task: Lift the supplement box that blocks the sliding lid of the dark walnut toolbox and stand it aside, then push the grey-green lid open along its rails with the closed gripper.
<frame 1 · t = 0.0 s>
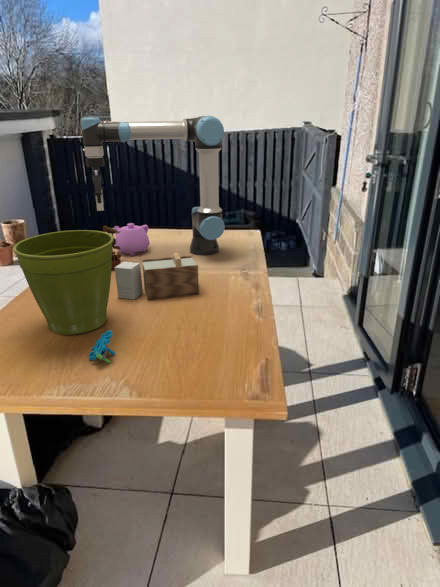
hand: (100, 207, 186), 28 cm above the table, tool pointing down, fingers open, 13 cm apart
lid: (169, 261, 165), point 12 cm above the table, slide at 0.0 cm
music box: (108, 267, 197), on the table
blue angular piece: (102, 357, 123), on the table
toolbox: (171, 291, 169), on the table
pink piggy bank: (132, 251, 222), on the table
plant pot: (77, 323, 144), on the table
supplement box: (130, 295, 166), on the table
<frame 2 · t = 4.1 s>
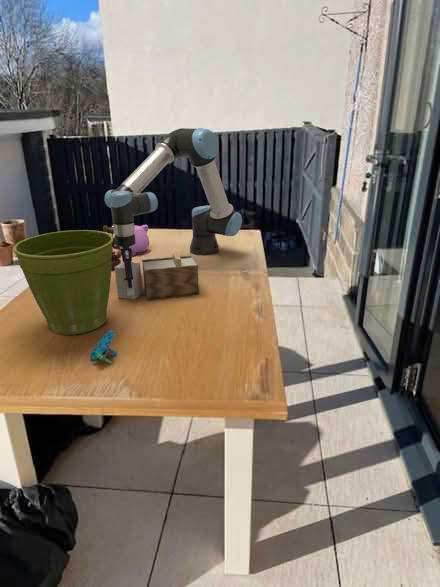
hand: (130, 290, 165), 2 cm above the table, tool pointing down, fingers closed on supplement box, 10 cm apart
supplement box: (130, 295, 166), on the table, touching gripper
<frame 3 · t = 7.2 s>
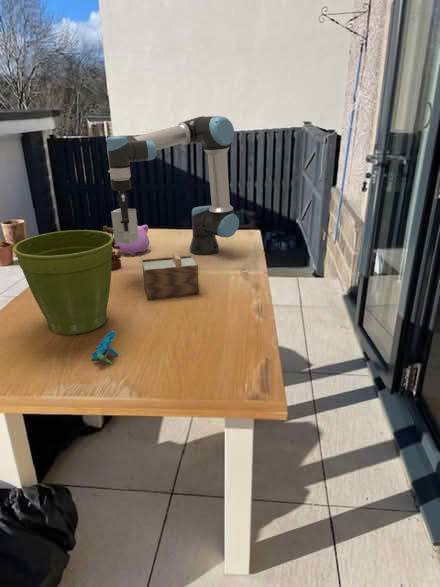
hand: (126, 235, 171), 20 cm above the table, tool pointing down, fingers closed on supplement box, 10 cm apart
supplement box: (126, 241, 172), point 18 cm above the table, touching gripper
when the fingers open (4 cm above the table, at t = 10.3 s): supplement box drops 1 cm, on the table.
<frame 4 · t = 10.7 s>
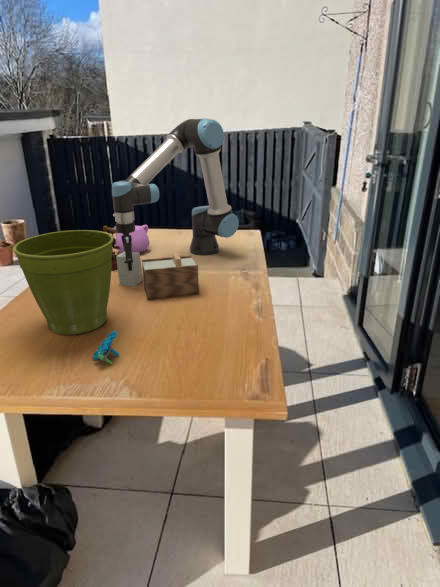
hand: (129, 272, 177), 5 cm above the table, tool pointing down, fingers open, 13 cm apart
supplement box: (131, 283, 179), on the table
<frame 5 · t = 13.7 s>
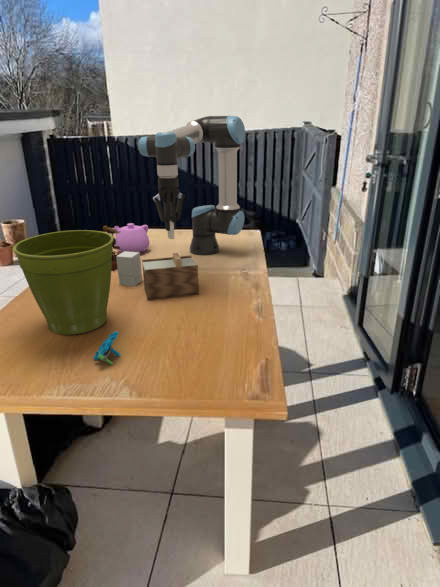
hand: (171, 238, 166), 20 cm above the table, tool pointing down, fingers closed
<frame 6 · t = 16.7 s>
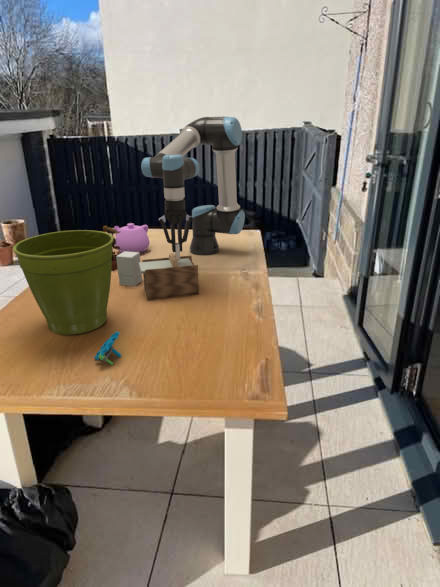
hand: (177, 259, 165), 13 cm above the table, tool pointing down, fingers closed
lid: (165, 261, 164), point 12 cm above the table, slide at 1.4 cm, touching gripper
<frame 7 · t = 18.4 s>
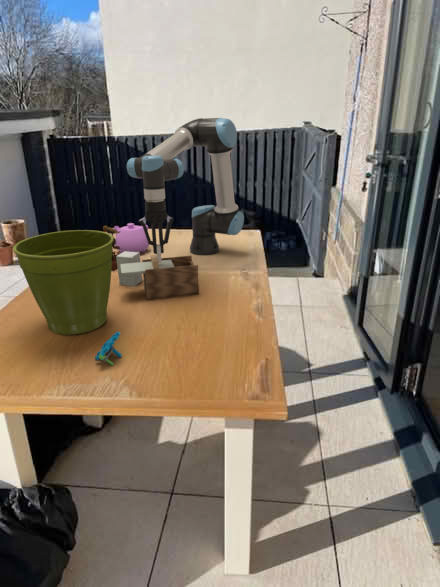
hand: (159, 261, 164), 13 cm above the table, tool pointing down, fingers closed
lid: (147, 263, 163), point 12 cm above the table, slide at 8.6 cm, touching gripper
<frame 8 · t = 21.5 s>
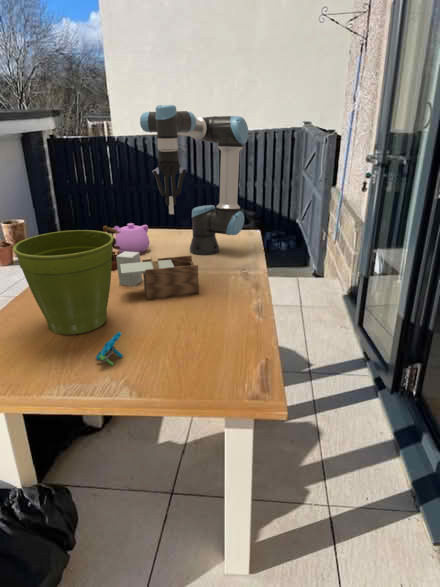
hand: (171, 213, 166), 29 cm above the table, tool pointing down, fingers closed
lid: (146, 263, 163), point 12 cm above the table, slide at 8.7 cm
at the end: lid slide at 8.7 cm; supplement box inside the target area (0.4 cm from its centre), on the table; supplement box tilted 0° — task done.
